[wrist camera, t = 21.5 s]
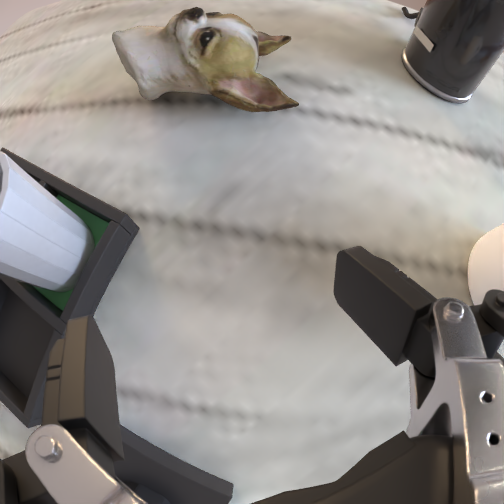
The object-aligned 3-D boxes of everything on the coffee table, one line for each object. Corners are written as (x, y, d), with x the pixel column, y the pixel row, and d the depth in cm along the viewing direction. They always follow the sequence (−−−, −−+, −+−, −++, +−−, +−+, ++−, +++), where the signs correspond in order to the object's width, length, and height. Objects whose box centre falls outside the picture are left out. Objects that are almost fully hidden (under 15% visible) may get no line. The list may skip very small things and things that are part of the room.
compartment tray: (17, 160, 23) (2, 146, 21) (140, 228, 21) (126, 213, 19) (-53, 307, 19) (-71, 303, 17) (48, 421, 17) (27, 428, 15)
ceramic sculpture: (126, -10, 18) (300, -13, 19) (141, 54, 26) (286, 54, 27) (83, 61, 15) (316, 55, 16) (116, 132, 24) (292, 133, 25)
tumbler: (58, 205, 21) (-19, 139, 12) (108, 235, 20) (27, 166, 11) (24, 269, 20) (-67, 228, 10) (71, 307, 19) (-31, 279, 9)
